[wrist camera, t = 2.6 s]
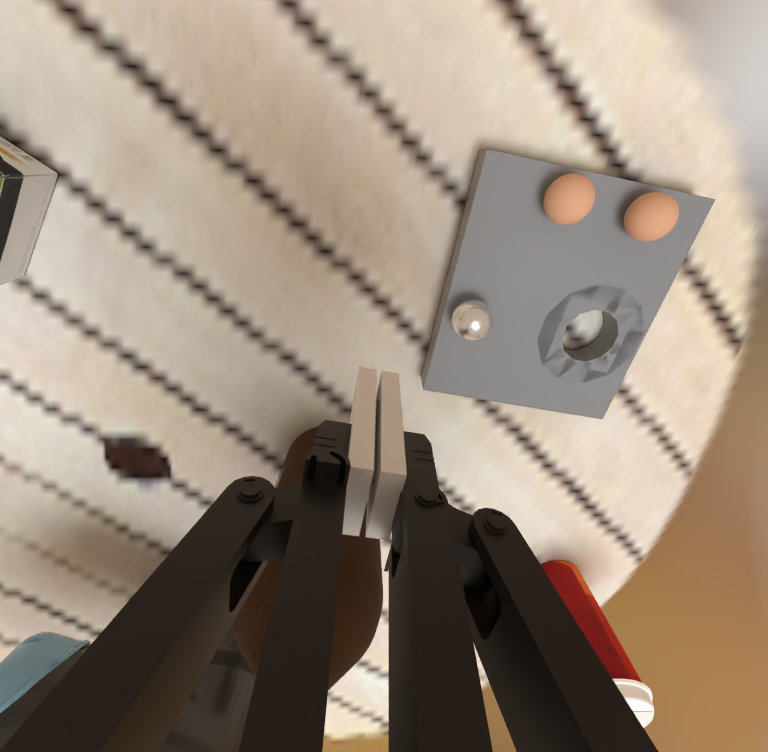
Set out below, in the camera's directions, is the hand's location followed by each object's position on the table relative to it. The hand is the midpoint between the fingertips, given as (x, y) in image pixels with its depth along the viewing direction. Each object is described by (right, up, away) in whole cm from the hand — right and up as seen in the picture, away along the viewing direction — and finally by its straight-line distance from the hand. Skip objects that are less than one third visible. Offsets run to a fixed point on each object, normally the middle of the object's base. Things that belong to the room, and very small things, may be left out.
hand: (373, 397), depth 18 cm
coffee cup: (+22, -24, +33) cm, 47 cm away
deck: (+14, +8, +17) cm, 23 cm away
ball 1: (+7, +5, +13) cm, 16 cm away
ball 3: (+19, +12, +10) cm, 25 cm away
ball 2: (+13, +13, +10) cm, 21 cm away
